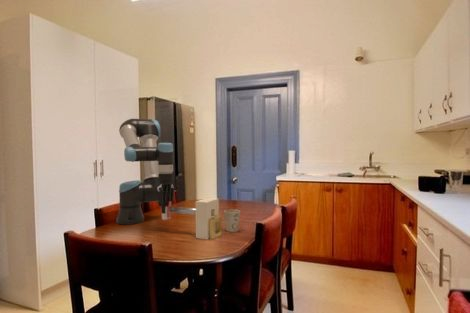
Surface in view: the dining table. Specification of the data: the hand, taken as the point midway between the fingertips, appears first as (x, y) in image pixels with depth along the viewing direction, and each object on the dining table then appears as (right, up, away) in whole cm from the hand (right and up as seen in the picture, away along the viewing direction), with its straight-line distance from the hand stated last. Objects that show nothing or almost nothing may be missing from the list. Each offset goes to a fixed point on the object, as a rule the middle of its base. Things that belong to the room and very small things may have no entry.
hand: (166, 218), depth 151 cm
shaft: (+10, +1, -4) cm, 11 cm away
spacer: (+26, -6, -11) cm, 29 cm away
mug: (+33, -6, +1) cm, 34 cm away
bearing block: (+22, -6, -9) cm, 25 cm away
